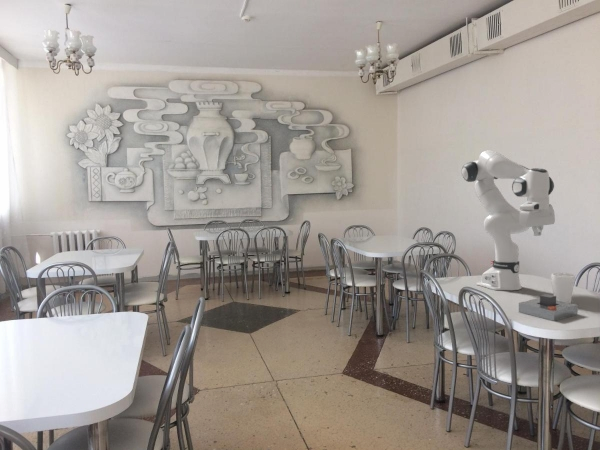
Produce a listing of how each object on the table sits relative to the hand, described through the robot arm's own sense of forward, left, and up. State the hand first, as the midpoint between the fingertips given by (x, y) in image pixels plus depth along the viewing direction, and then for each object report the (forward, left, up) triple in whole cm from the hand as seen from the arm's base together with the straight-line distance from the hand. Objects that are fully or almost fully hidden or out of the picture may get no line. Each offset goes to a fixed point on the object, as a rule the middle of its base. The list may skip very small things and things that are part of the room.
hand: (537, 235), depth 216 cm
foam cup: (+6, +10, -31) cm, 33 cm away
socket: (+12, -10, -31) cm, 35 cm away
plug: (+12, -10, -31) cm, 35 cm away
